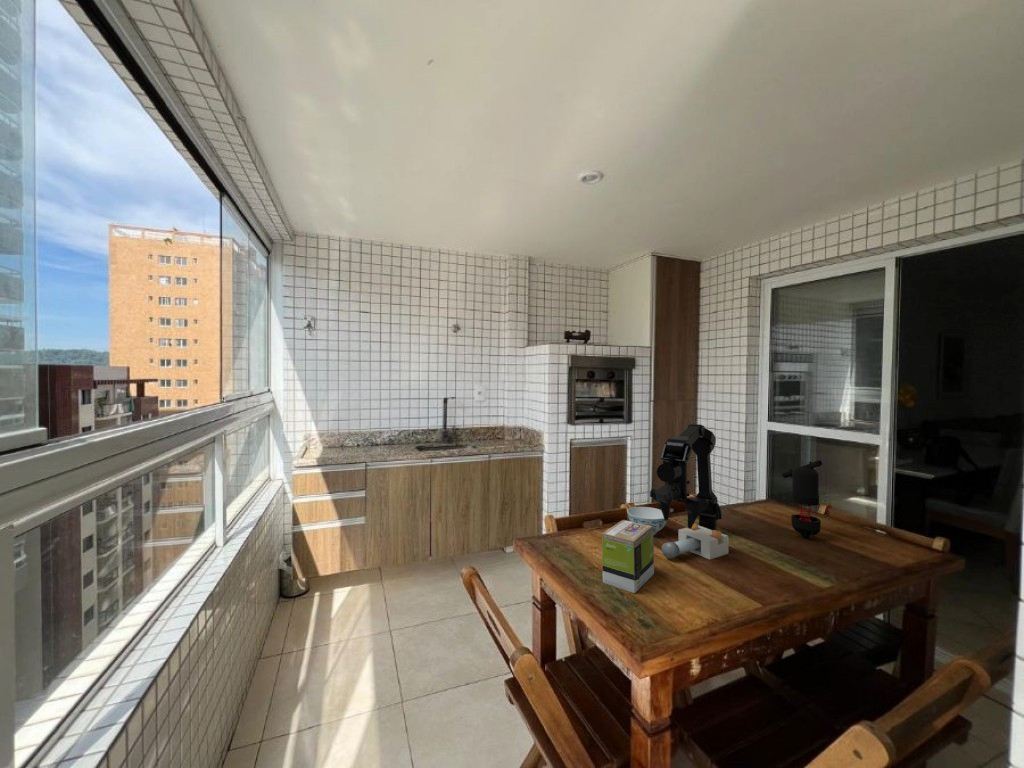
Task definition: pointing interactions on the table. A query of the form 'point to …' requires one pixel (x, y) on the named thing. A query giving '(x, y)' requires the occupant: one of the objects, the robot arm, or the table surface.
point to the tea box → (627, 555)
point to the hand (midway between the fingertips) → (677, 524)
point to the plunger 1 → (695, 526)
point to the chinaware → (647, 517)
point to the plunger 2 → (716, 534)
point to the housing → (706, 542)
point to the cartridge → (680, 547)
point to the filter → (805, 497)
